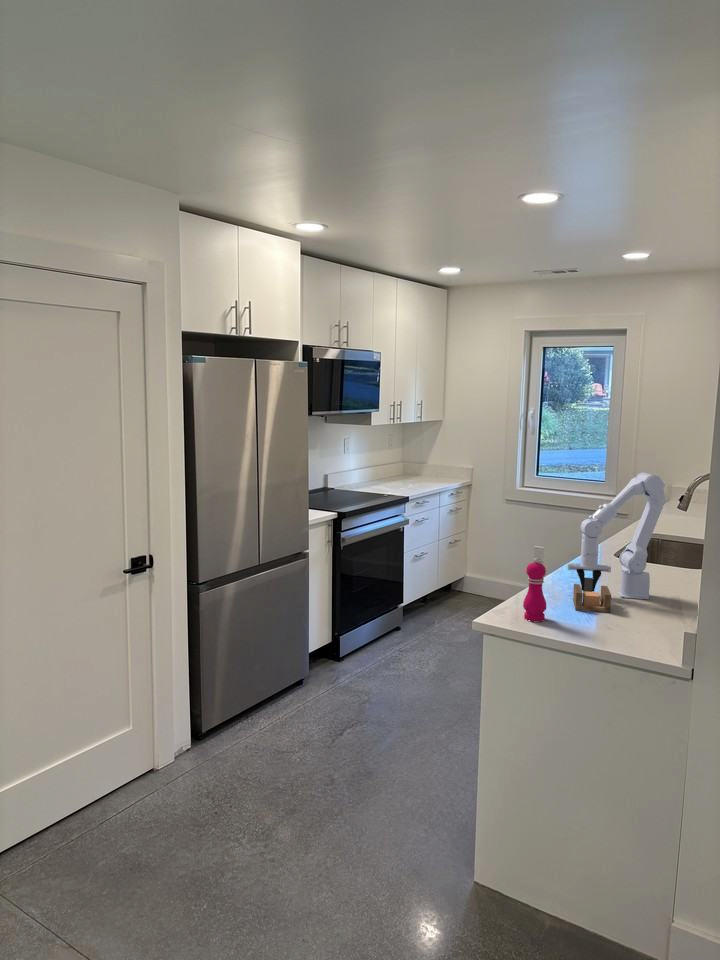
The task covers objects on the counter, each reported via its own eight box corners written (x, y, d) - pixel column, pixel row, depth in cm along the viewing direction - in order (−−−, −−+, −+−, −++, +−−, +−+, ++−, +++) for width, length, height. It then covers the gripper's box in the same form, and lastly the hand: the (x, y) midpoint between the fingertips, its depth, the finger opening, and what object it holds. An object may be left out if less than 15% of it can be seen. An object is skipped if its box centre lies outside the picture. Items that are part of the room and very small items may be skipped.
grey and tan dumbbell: (594, 594, 243) (595, 578, 243) (599, 608, 228) (600, 590, 227) (579, 593, 245) (580, 577, 244) (583, 606, 229) (584, 589, 228)
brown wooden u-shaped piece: (606, 602, 234) (607, 585, 233) (610, 612, 223) (611, 595, 223) (573, 600, 237) (573, 583, 236) (575, 610, 226) (576, 592, 225)
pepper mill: (533, 624, 213) (535, 561, 210) (517, 617, 219) (519, 556, 216) (550, 620, 216) (553, 559, 213) (535, 613, 222) (537, 554, 220)
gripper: (609, 551, 243) (607, 588, 245) (567, 549, 246) (565, 585, 248) (612, 556, 236) (610, 594, 238) (568, 554, 239) (567, 591, 241)
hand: (587, 590), depth 242 cm, fingers closed on grey and tan dumbbell, 3 cm apart
